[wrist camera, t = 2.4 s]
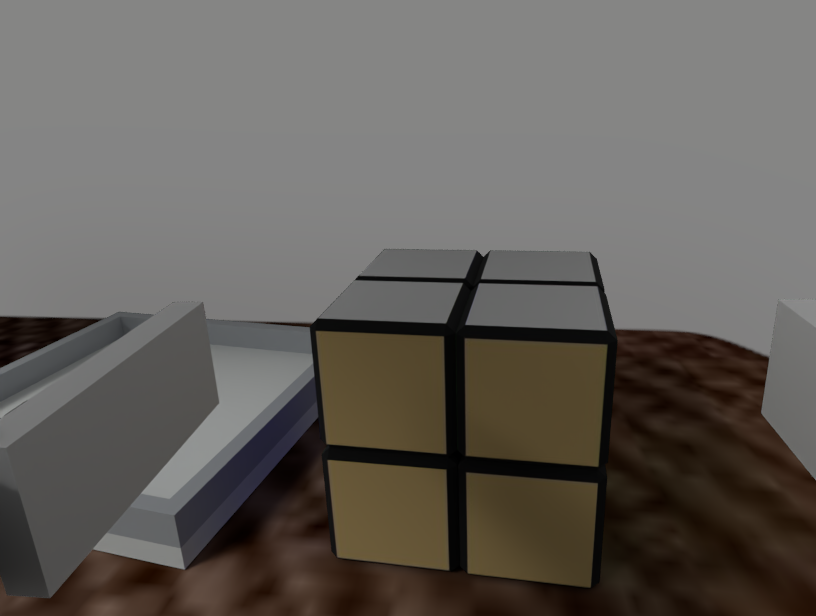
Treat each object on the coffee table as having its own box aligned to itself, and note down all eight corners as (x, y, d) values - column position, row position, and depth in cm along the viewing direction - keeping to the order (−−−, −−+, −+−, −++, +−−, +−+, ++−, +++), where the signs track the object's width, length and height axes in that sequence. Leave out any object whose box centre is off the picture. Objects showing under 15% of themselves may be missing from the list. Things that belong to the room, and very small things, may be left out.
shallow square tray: (-152, 495, 30) (-170, 449, 29) (125, 343, 46) (118, 311, 45) (184, 569, 24) (174, 515, 23) (361, 367, 41) (359, 331, 40)
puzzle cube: (389, 430, 33) (379, 246, 30) (584, 444, 31) (596, 249, 28) (328, 564, 24) (304, 321, 21) (599, 596, 22) (620, 334, 19)
